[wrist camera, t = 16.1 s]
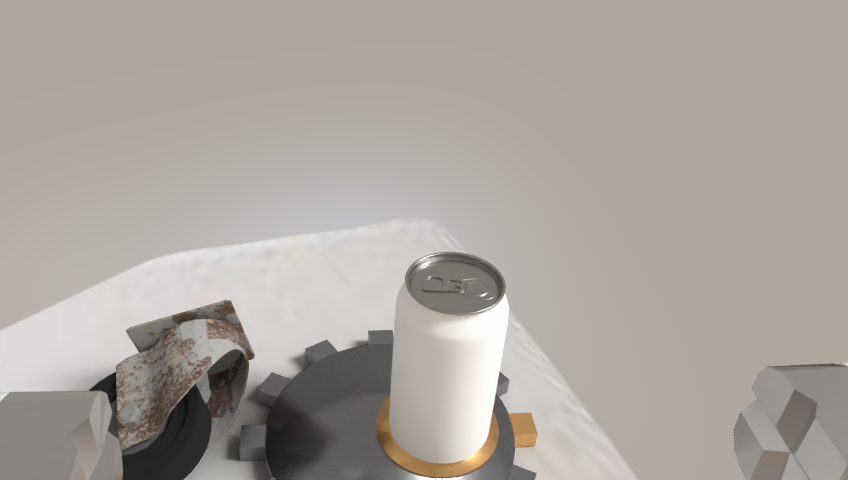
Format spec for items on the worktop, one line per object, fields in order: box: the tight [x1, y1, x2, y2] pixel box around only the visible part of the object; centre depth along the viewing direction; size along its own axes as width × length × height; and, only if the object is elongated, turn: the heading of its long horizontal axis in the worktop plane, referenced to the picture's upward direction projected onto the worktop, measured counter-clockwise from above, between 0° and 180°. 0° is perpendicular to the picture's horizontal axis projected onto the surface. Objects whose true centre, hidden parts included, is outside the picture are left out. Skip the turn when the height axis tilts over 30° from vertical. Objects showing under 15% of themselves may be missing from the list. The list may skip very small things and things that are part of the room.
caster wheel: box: [89, 300, 255, 480], centre depth 47 cm, size 7×11×10 cm
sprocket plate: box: [239, 330, 537, 480], centre depth 49 cm, size 19×19×1 cm
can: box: [389, 252, 509, 464], centre depth 45 cm, size 6×6×12 cm
